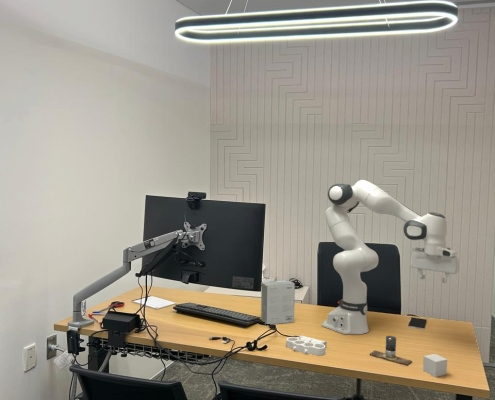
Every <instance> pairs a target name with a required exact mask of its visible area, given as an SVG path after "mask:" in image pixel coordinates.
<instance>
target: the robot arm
mask: <svg viewBox="0 0 495 400" xmlns="http://www.w3.org/2000/svg"><path fill="white" fill-rule="evenodd" d="M327 198H328V200H329V201H330V203H332V205H330V206H329V207H328V208H327V209H326V210H325V211H324V216H325V221H326V224H327V226H328V229H329V232H330V234H331V236H332V239H333V241H334V243H335V244H336V245H337V246H338V247H340V248H342V249H343V251H341V252H337V254H335V255H334V256H333V260H332V265H333V268H334V270H335V271H336V272H337V273H338V274H339V276H340V278H341V281H342V286H343V287H342V290H343V291H342V293H343V294H342V298H340V300H338V301H337V304H339V305H338V306H337V307H336V308H334V309H332V310H331V311H330V312H329V313H328V314H327V317H326V320H324V321H322V324H321V327H324V328H327V329H329V330H332V331H335V332H337V333H340V334H343V335H363V334H367V333H368V332H369V330H370V329H369V325H368V319H367V313H368V301H367V296H368V295H367V294H368V293H367V292H368V286H367V284H366V283H365V282H364V281H362V278H361V277H362V276H361V273H364V272H369V271H371V270H373V269H375V268H377V267H378V265H379V255H378V254H377V252H376V251H375V250H373V249H372V248H370V247H368V246H367V245H366V244H365V243H364V242H363V241H362V240H361V238H360V237H359V235H358V234H357V232H356V229H355V228H354V226H353V224H352V222H351V220H350V218H349V216H348V214H349V213H352V211H353V210H354V209H356V208H357V207H358V206H359V205H360V203H361V204H362V206H365V207H366V208H367V209H368V210H370V211H372V212H374V213H376V214H380V215H389V216H394V217H396V218H399V220H402V221H403V222H404V225H403V234H404V236H405V237H406V238H407V239H409V240H411V241H420V240H421V241H422V240H423V241H424V247H413V248H412V249H411V250H410V255H411V258H410V263H409V264H410V267H411V268H412V269H416V270H417V272H418V274H419V275H420V280H426V275H425V274H424V273H423V272H424V271H433V272H439V273H444V275H445V277H443V278H441V282H442V283H444V284H446V283H448V281H447V280H448V278H449V277H450V276H451V274H452V275H456V274H458V273H459V272H460V261H459V258H458V256H457V255H458V251H457V250H456V249H453V248H451V247H448V246H447V241H446V237H447V233H448V232H447V231H448V229H447V228H448V227H447V226H448V224H447V218H446V216H445V215H443V214H441V213H437V212H427V213H426V214H424V215H420V214H419V213H418V212H415V211H414V210H412V209H411V208H410V207H408V206H406V205H405V204H402V202H401V203H400V202H399V201H398V200H397V199H395V198H393V196H391V195H390V194H389V193H387V192H386V191H385V190H383V189H382V188H380V187H379V186H377V185H376V184H374V183H372V182H370V181H368V180H365V179H359V180H358V181H357V182H355V184H354V185H351V184H348V183H335V184H333V185H331V186H330V187H329V189H328V191H327Z"/></svg>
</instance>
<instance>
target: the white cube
mask: <svg viewBox="0 0 495 400" xmlns="http://www.w3.org/2000/svg"><path fill="white" fill-rule="evenodd" d="M422 362H423V364H422V365H423V367H422V372H424V373H426V372H427V373H426V374H428V373H429V374H428V375H430V376H432V377H434V378H438V377H442V376H445V375H447V374H448V373H447V371H448V359H447V358H445V357H443V356H441V355H439V354H437V353H432V354H428V355H423V361H422Z"/></svg>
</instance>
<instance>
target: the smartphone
mask: <svg viewBox="0 0 495 400" xmlns="http://www.w3.org/2000/svg"><path fill="white" fill-rule="evenodd" d="M427 323H428V322H427V319H425V318H419V317H413V316H412V317H410V319H409V322H408V324H407V327H408V328H411V327H412V329H419V330H425V329H426V325H427Z"/></svg>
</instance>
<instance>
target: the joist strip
mask: <svg viewBox="0 0 495 400" xmlns="http://www.w3.org/2000/svg"><path fill="white" fill-rule="evenodd" d="M369 356H371V357H375V358H377V359H381V360H386V361H387V362H388V361H389V362H392V363H395V362H396V364H400V365H402V366H406V367H407V366H409V365H410V364H411V363H413V361H412V359H411V360H410V359H407V358H403V357H401V356H400V357H399V356H397V355H395V358H393V359H391V358H387V357H385V352H382V351H378V350H373V351H372V352H370V353H369Z"/></svg>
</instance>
